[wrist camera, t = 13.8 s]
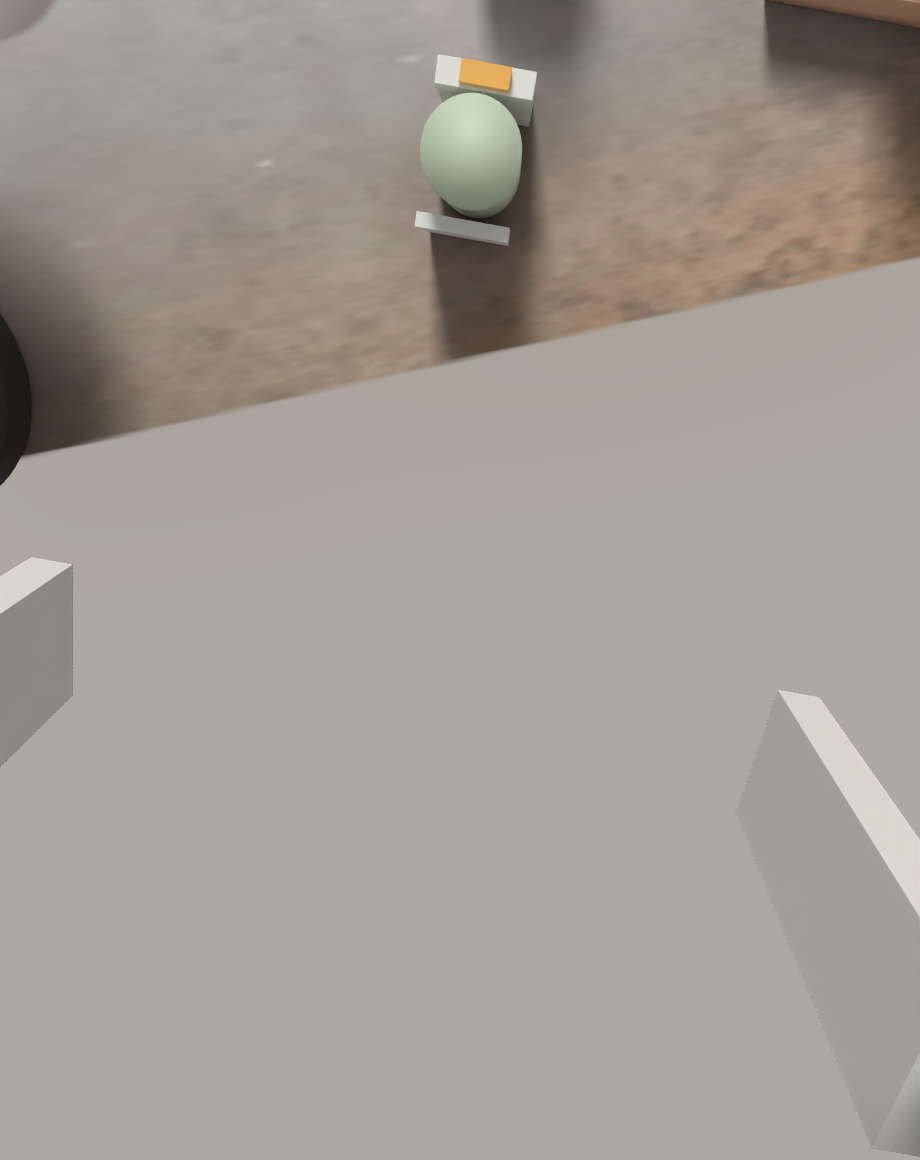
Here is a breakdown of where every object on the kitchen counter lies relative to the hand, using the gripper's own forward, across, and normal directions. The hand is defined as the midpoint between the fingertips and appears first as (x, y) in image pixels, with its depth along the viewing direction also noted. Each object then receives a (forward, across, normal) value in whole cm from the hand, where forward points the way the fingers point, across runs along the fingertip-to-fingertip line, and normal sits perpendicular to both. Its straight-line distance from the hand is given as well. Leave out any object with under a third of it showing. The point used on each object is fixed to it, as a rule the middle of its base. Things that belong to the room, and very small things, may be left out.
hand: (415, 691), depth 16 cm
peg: (+32, -2, +11) cm, 34 cm away
